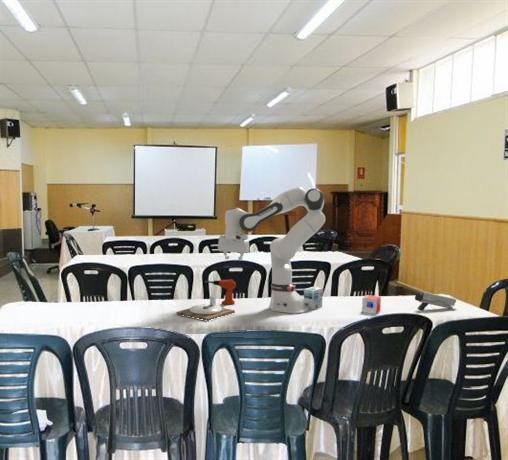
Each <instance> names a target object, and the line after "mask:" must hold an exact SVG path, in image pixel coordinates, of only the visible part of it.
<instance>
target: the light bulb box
mask: <svg viewBox="0 0 508 460" xmlns="http://www.w3.org/2000/svg"><path fill="white" fill-rule="evenodd" d="M323 291H324V290H323V288H322V287H316V286H311V287H307V288H304V289H303V299H304V304H305V307H308V308H309V310H316V309H318V308H322V307H323Z"/></svg>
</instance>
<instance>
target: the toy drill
mask: <svg viewBox="0 0 508 460" xmlns="http://www.w3.org/2000/svg"><path fill="white" fill-rule="evenodd" d="M204 283H206V284H213V286H218V287H221V288H223V289H224V291H223V292H222V295H223V296H224V300H223V301H221V305H223V306H231V305H232V306H233V305H235V303H236V302H235V300H234V299H233V291H234V289H235V288H236V287H237V283H236V282H235V281H234V279H231V278H230V279H220V280H212V281H211V280H205V281H204Z"/></svg>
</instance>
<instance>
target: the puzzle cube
mask: <svg viewBox="0 0 508 460" xmlns="http://www.w3.org/2000/svg"><path fill="white" fill-rule="evenodd" d="M381 298H382V297H381V296H378V295H369V294H367V295H364V296H363V297H362V301H361V302H362V303H361V306H362V307H361V312H364V313H370V314H377V313H379V312H380V311H381V306H382V305H381V300H382V299H381Z"/></svg>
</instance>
